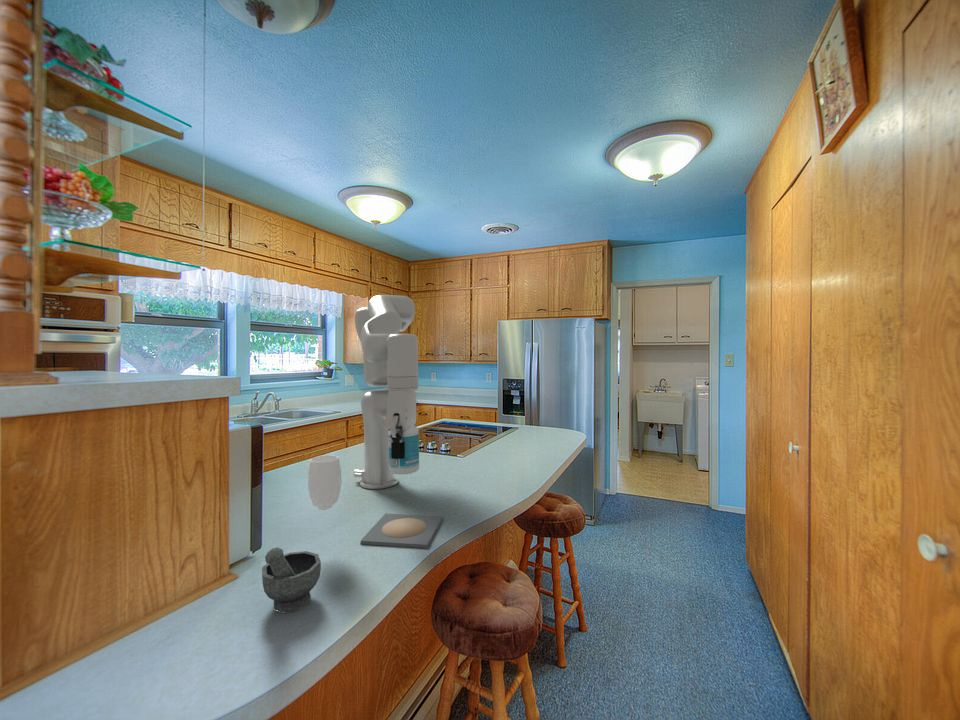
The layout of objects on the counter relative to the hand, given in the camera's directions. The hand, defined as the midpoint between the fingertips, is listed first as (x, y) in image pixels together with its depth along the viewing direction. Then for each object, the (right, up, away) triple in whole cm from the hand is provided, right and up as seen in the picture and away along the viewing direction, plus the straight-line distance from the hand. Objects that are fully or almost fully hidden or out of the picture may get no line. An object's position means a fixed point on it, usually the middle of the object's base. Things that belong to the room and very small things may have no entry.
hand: (403, 453), depth 102 cm
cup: (-16, -20, -8) cm, 27 cm away
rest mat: (0, -19, 0) cm, 19 cm away
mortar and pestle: (-15, -21, -29) cm, 38 cm away
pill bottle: (0, -5, 0) cm, 5 cm away
